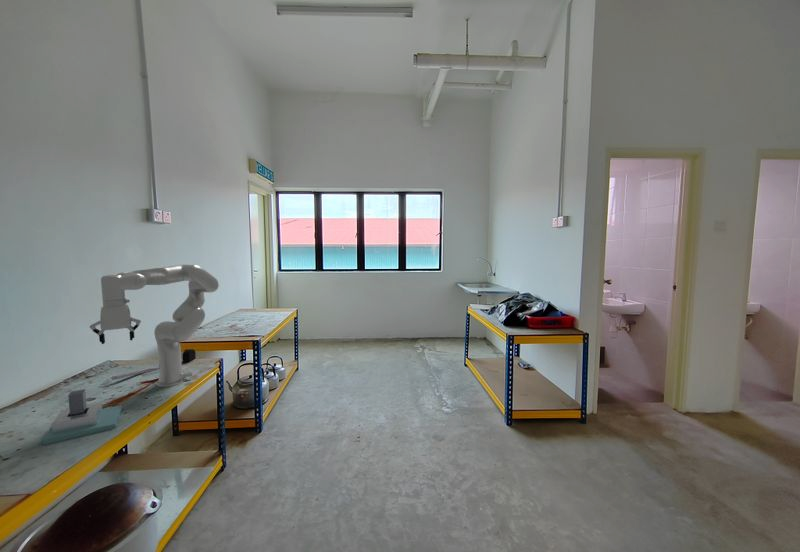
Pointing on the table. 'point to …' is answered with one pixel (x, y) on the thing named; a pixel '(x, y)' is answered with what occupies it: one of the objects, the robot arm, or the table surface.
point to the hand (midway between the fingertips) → (117, 341)
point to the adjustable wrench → (134, 372)
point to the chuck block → (82, 423)
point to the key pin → (77, 402)
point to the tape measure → (188, 355)
